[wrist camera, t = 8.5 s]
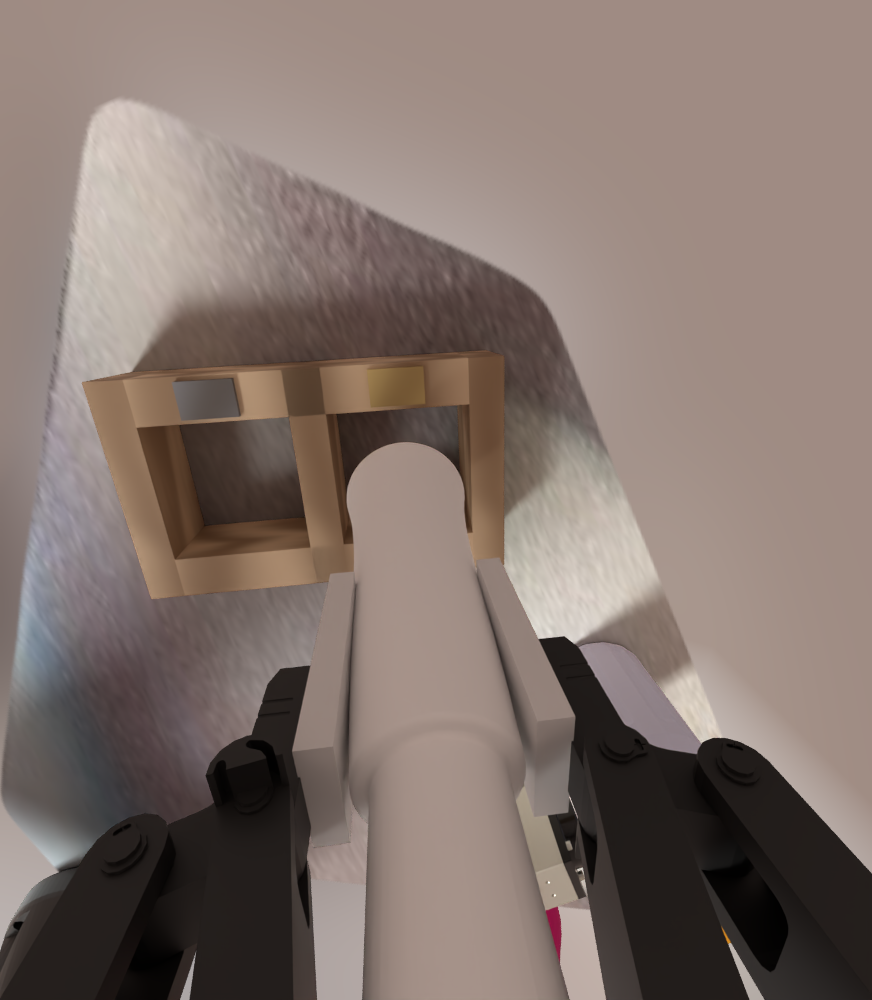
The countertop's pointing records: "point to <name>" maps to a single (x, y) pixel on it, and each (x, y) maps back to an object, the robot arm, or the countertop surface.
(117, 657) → the countertop surface
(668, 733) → the soap bottle
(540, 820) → the pneumatic valve
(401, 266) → the countertop surface
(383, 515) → the cosmetic bottle
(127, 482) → the wooden compartment tray
